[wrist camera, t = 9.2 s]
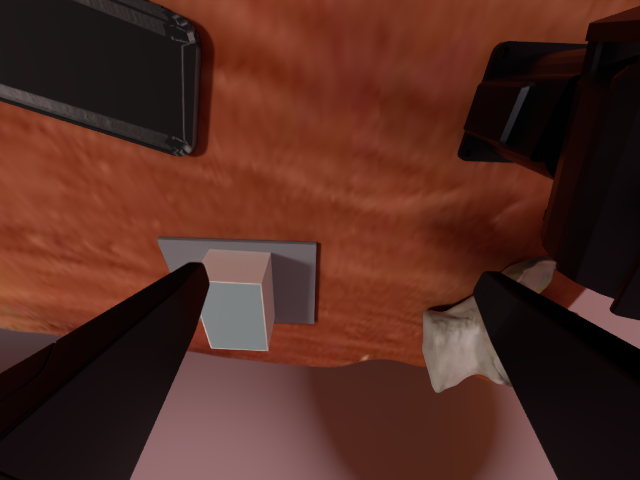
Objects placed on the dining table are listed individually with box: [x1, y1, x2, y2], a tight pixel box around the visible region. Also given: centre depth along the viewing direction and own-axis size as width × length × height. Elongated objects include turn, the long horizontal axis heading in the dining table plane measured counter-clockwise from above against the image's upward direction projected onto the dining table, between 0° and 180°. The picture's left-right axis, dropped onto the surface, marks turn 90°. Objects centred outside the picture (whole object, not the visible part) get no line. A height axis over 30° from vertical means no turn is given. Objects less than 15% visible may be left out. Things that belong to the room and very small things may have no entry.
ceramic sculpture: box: [422, 255, 578, 393], centre depth 23 cm, size 11×9×15 cm
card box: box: [200, 249, 275, 351], centre depth 23 cm, size 9×6×4 cm, turn 176°
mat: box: [157, 237, 316, 324], centre depth 25 cm, size 14×11×1 cm
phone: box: [0, 0, 202, 157], centre depth 14 cm, size 8×1×15 cm
